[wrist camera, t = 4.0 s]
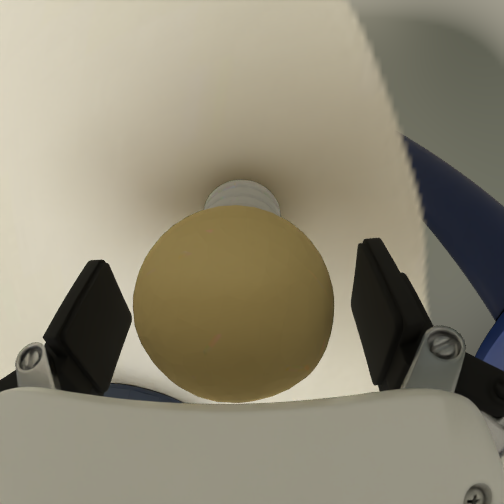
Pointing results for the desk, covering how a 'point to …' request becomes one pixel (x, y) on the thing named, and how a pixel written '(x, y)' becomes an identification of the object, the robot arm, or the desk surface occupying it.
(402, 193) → the desk surface
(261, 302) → the light bulb
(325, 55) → the desk surface
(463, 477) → the robot arm
